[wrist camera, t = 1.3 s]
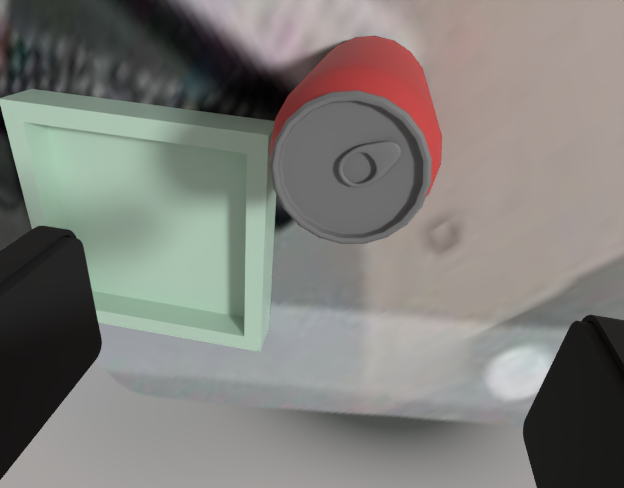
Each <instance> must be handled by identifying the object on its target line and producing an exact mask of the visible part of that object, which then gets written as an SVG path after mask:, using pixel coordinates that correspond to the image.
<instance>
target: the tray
mask: <svg viewBox="0 0 624 488" xmlns="http://www.w3.org/2000/svg"><path fill="white" fill-rule="evenodd" d="M0 106H1V110H2V114H3V117H4V121H5V125H6V129H7V133H8V137H9V141H10V145H11V149H12V153H13V157H14V161H15V165H16V168H17V172H18V176H19V180H20V184H21V188H22V192H23V196H24V200H25V204H26V208H27V212H28V215H29V219H30V223H31V227H32V229H34V228H35V227H37V226H49V227H55V228H62V229H68V230H71V231H72V232H73V233H74V234H75V235H76V238H77V239H79V240H81V242H82V244H83V247H84V252H85V257H86V262H87V267H88V273H89V278H90V283H91V288H92V293H93V298H94V304H95V309H96V314H97V319H98V323H104V324H109V325H115V326H120V327H126V328H131V329H137V330H142V331H148V332H153V333H159V334H164V335H170V336H175V337H181V338H186V339H192V340H197V341H203V342H208V343H214V344H220V345H225V346H231V347H236V348H242V349H247V350H253V351H258V352H260V351H261V348H262V345H263V343H264V340H265V337H266V335H267V332H268V329H269V325H270V305H271V285H272V265H273V246H274V226H275V206H276V192H275V190H274V188H273V181H272V174H271V167H270V163H271V153H270V146H271V140H272V134H273V129H274V123H275V121H271V120H263V119H255V118H248V117H240V116H233V115H225V114H218V113H210V112H203V111H195V110H187V109H180V108H172V107H165V106H157V105H150V104H142V103H135V102H127V101H119V100H112V99H104V98H97V97H89V96H82V95H74V94H67V93H59V92H51V91H44V90H36V89H30V90H26V91H23V92H20V93H16V94H13V95H10V96H6V97H3V98H0Z"/></svg>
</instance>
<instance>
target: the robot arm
mask: <svg viewBox="0 0 624 488" xmlns="http://www.w3.org/2000/svg"><path fill="white" fill-rule="evenodd" d="M101 345H102V341H101V335H100V330H99V324H98V319H97V314H96V309H95V304H94V298H93V293H92V288H91V283H90V278H89V273H88V267H87V262H86V257H85V252H84V247H83V244H82V242H81V240H79V239H77V238H76V235H75V234H74V233H73V232H72V231H71V230H68V229H62V228H55V227H49V226H37V227H35V228H34V229H32V230H31V231H29V232H28V233H26V234H25V235H23V236H22V237H20V238H19V239H17V240H16V241H15V242H13V243H12V244H10V245H9V246H7V247H6V248H4V249H3V250H1V251H0V480H1V478H2V477H3V475H5V473H6V472H7V471H8V470H9V468H10V467H11V466H12V464H13V463H14V462H15V461H16V460H17V458H18V457H19V456H20V454H21V453H22V452H23V451H24V449H25V448H26V447H27V446H28V444H29V443H30V442H31V441H32V439H33V438H34V437H35V436H36V434H37V433H38V432H39V431H40V429H41V428H42V427H43V425H44V424H45V423H46V422H47V420H48V419H49V418H50V417H51V415H52V414H53V413H54V412H55V410H56V409H57V408H58V407H59V405H60V404H61V403H62V401H63V400H64V399H65V398H66V397H67V395H68V394H69V393H70V391H71V390H72V389H73V388H74V386H75V385H76V384H77V383H78V381H79V380H80V379H81V378H82V376H83V375H84V374H85V372H86V371H87V370H88V369H89V368H90V366H91V365H92V364H93V362H94V361H95V360H96V358H97V357H98V355H99V353H100V350H101ZM523 437H524V442H525V445H526V449H527V453H528V456H529V460H530V464H531V468H532V471H533V475H534V479H535V482H536V486H537V488H624V320H619V319H613V318H607V317H601V316H595V315H588V316H586V317H585V318H583V320H582V321H575V322H574V323H572V325H571V326H570V328H569V330H568V332H567V334H566V336H565V338H564V340H563V342H562V344H561V346H560V349H559V351H558V353H557V355H556V357H555V359H554V361H553V363H552V365H551V367H550V369H549V371H548V373H547V375H546V377H545V379H544V382H543V384H542V386H541V388H540V390H539V392H538V394H537V396H536V398H535V400H534V402H533V404H532V406H531V408H530V410H529V412H528V415H527V417H526V419H525V422H524V426H523Z"/></svg>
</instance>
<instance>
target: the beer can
mask: <svg viewBox="0 0 624 488" xmlns="http://www.w3.org/2000/svg"><path fill="white" fill-rule="evenodd" d="M441 150H442V135H441V131H440V128H439V124H438V120H437V117H436V113H435V110H434V106H433V103H432V99H431V96H430V92H429V88H428V85H427V82H426V78H425V75H424V72H423V68H422V67H421V66H420V64H419V63H418V61H417V60H416V59H415V57H414V56H413V54H412V53H411V52H410V51H408V50H407V49H406V48H404V47H403V46H401V45H400V44H398V43H397V42H395V41H393V40H389V39H386V38H382V37H378V36H366V37H355V38H353V39H351V40H348V41H346V42H344V43H342V44H339V45H337V46H336V47H335V48H334V49H333V50H332V51H331V52H329V53H328V54H327V55H326V56H325V57H324V58H323V59H322V60H321V61H320V62H319V63H318V64H317V65H316V66H315V67H314V68H313V69H312V71H311V72H310V73H309V74H308V75H307V76H306V77H305V78H304V79H303V80H302V81H301V82H300V83H299V84H298V85H297V87H296V88H295V89H294V90H293V91H292V92H291V93H290V94H289V95H288V97H287V98H286V100H285V102H284V104H283V106H282V108H281V109H280V111H279V113H278V115H277V117H276V118H275V123H274V129H273V134H272V140H271V146H270V153H271V163H270V167H271V174H272V181H273V188H274V190H275V192H276V194H277V196H278V198H279V200H280V202H281V204H282V206H283V208H284V210H285V211H286V212H287V213H288V214H289V215H290V216H291V217H292V218H293V219H294V220H295V221H296V223H297V224H298V225H299V226H301V227H303V228H304V229H306V230H308V231H309V232H311V233H312V234H314V235H316V236H317V237H319V238H323V239H326V240H330V241H334V242H337V243H341V244H365V243H368V242H372V241H375V240H379V239H382V238H386V237H388V236H390V235H391V234H393V233H394V232H396V231H397V230H399V229H401V228H402V227H404V226H405V225H407V224H408V223H409V221H410V220H411V219H412V218H413V217H414V215H415V214H416V213H417V212H418V211H419V209H420V208H421V207H422V205H423V203H424V200H425V198H426V197H427V195H428V194H429V192H430V190H431V188H432V185H433V183H434V180H435V177H436V175H437V172H438V170H439V167H440V165H441Z"/></svg>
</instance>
